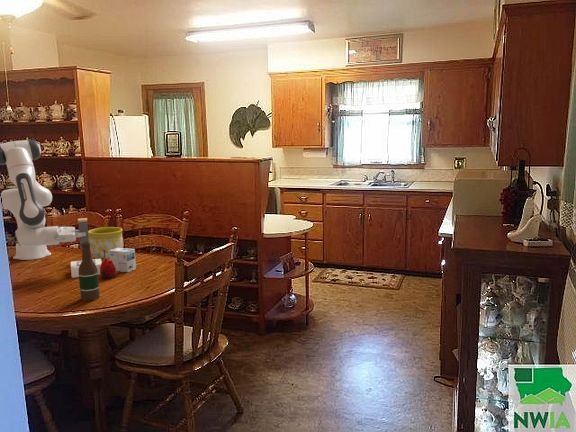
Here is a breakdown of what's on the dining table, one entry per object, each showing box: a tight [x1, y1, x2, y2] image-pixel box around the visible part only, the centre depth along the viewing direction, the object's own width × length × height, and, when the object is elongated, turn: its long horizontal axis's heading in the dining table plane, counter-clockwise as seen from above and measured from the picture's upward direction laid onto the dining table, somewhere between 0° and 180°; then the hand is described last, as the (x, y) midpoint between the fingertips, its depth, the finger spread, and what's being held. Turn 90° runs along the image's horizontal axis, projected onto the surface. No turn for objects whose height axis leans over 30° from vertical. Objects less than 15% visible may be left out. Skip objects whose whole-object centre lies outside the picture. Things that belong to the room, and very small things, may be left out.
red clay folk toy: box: [99, 249, 117, 280], centre depth 226 cm, size 8×7×15 cm
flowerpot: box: [88, 226, 124, 262], centre depth 259 cm, size 18×18×16 cm
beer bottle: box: [78, 242, 100, 302], centre depth 196 cm, size 8×8×24 cm
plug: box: [77, 217, 89, 249], centre depth 232 cm, size 4×4×14 cm
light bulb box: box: [110, 247, 137, 273], centre depth 238 cm, size 11×7×11 cm, turn 71°
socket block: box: [70, 259, 102, 279], centre depth 235 cm, size 12×14×5 cm
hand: (85, 232), depth 232 cm, fingers closed on plug, 4 cm apart
